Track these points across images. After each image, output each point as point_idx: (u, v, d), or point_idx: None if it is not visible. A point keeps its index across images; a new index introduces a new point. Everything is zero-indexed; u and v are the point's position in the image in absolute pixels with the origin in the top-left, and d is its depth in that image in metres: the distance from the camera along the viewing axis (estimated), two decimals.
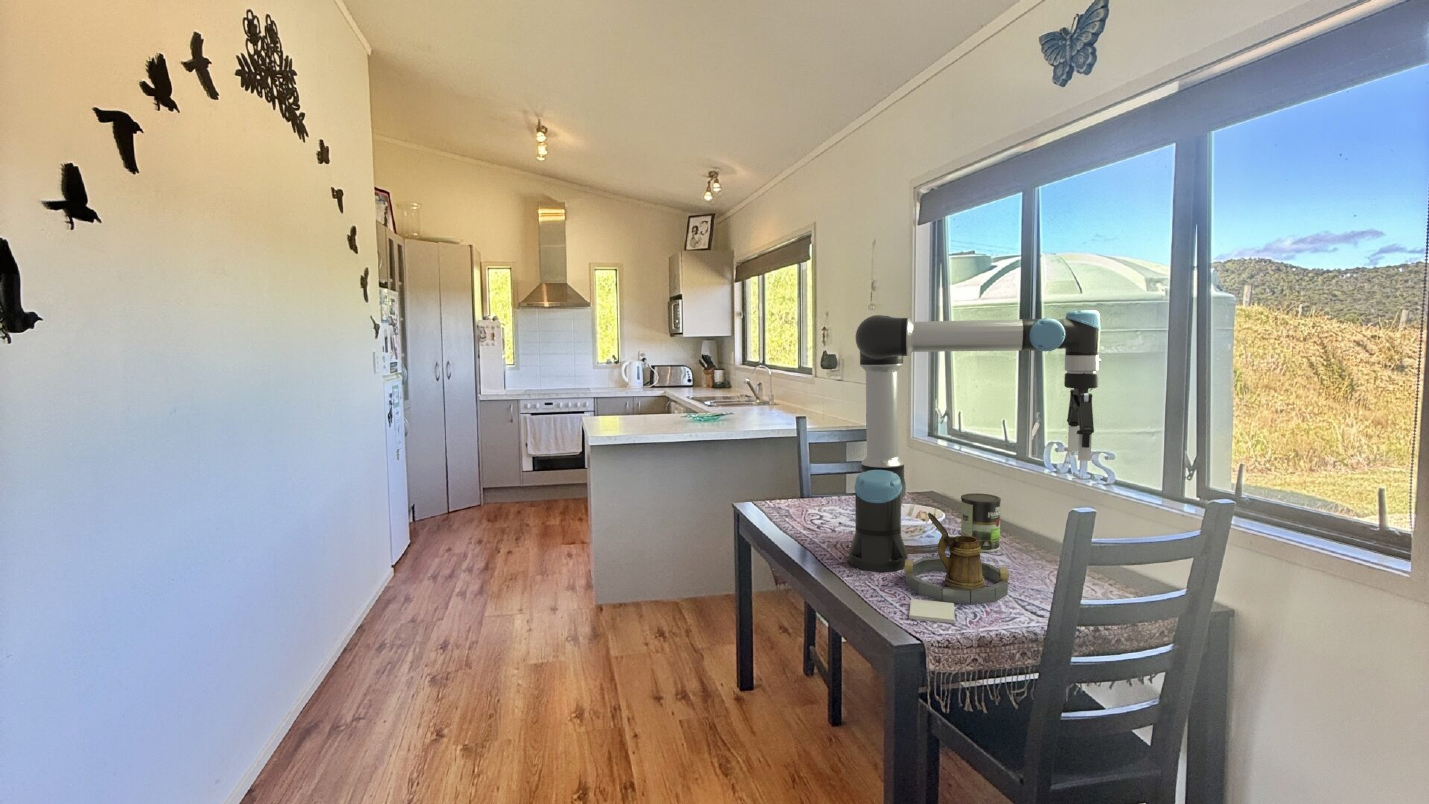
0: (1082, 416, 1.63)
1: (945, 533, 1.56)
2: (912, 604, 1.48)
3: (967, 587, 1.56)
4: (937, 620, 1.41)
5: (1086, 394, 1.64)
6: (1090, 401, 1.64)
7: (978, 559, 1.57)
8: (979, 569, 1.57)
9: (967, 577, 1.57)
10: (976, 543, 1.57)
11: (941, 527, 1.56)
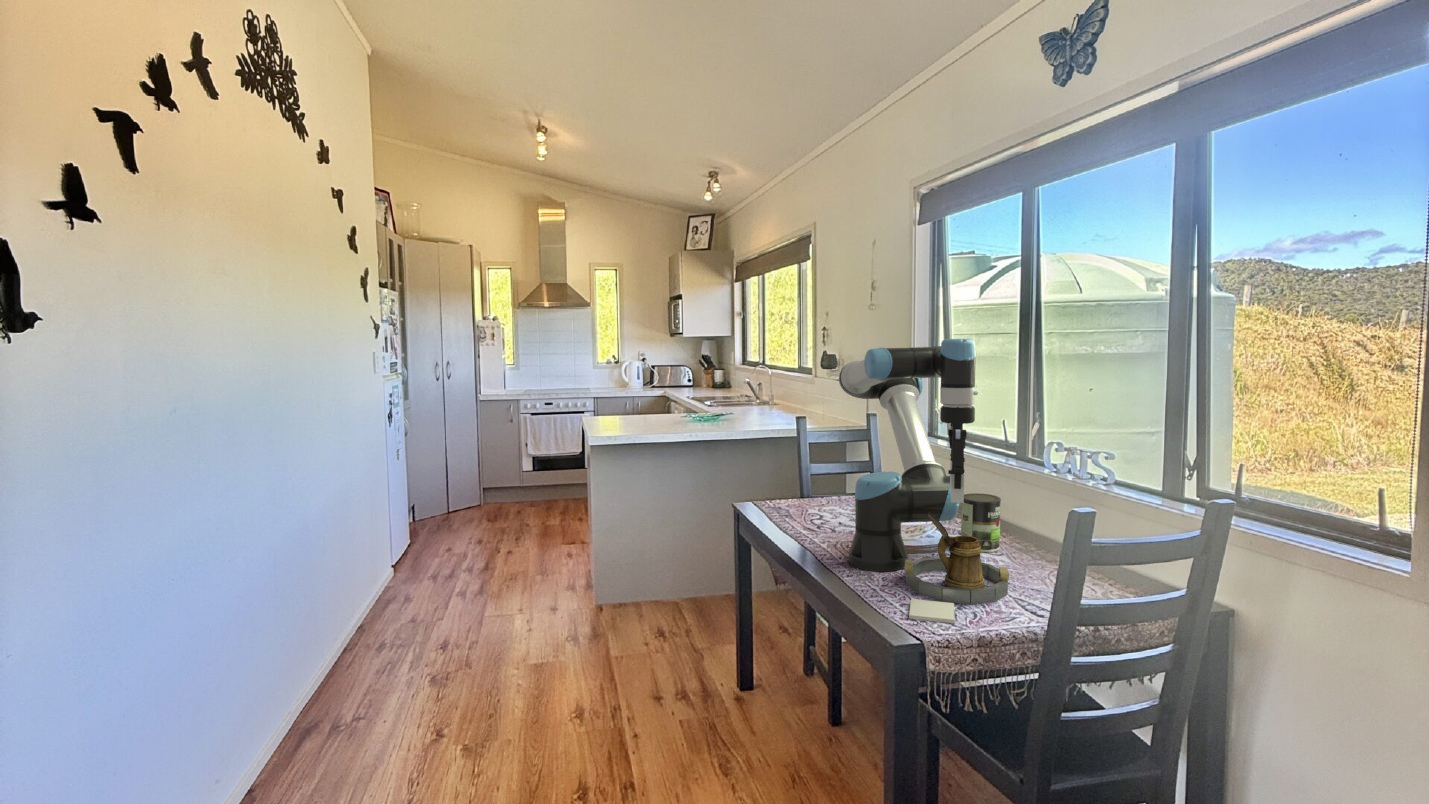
0: (953, 455, 1.50)
1: (945, 533, 1.56)
2: (912, 604, 1.48)
3: (967, 587, 1.56)
4: (937, 620, 1.41)
5: (958, 430, 1.51)
6: (962, 438, 1.50)
7: (978, 559, 1.57)
8: (979, 569, 1.57)
9: (967, 577, 1.57)
10: (976, 543, 1.57)
11: (941, 527, 1.56)
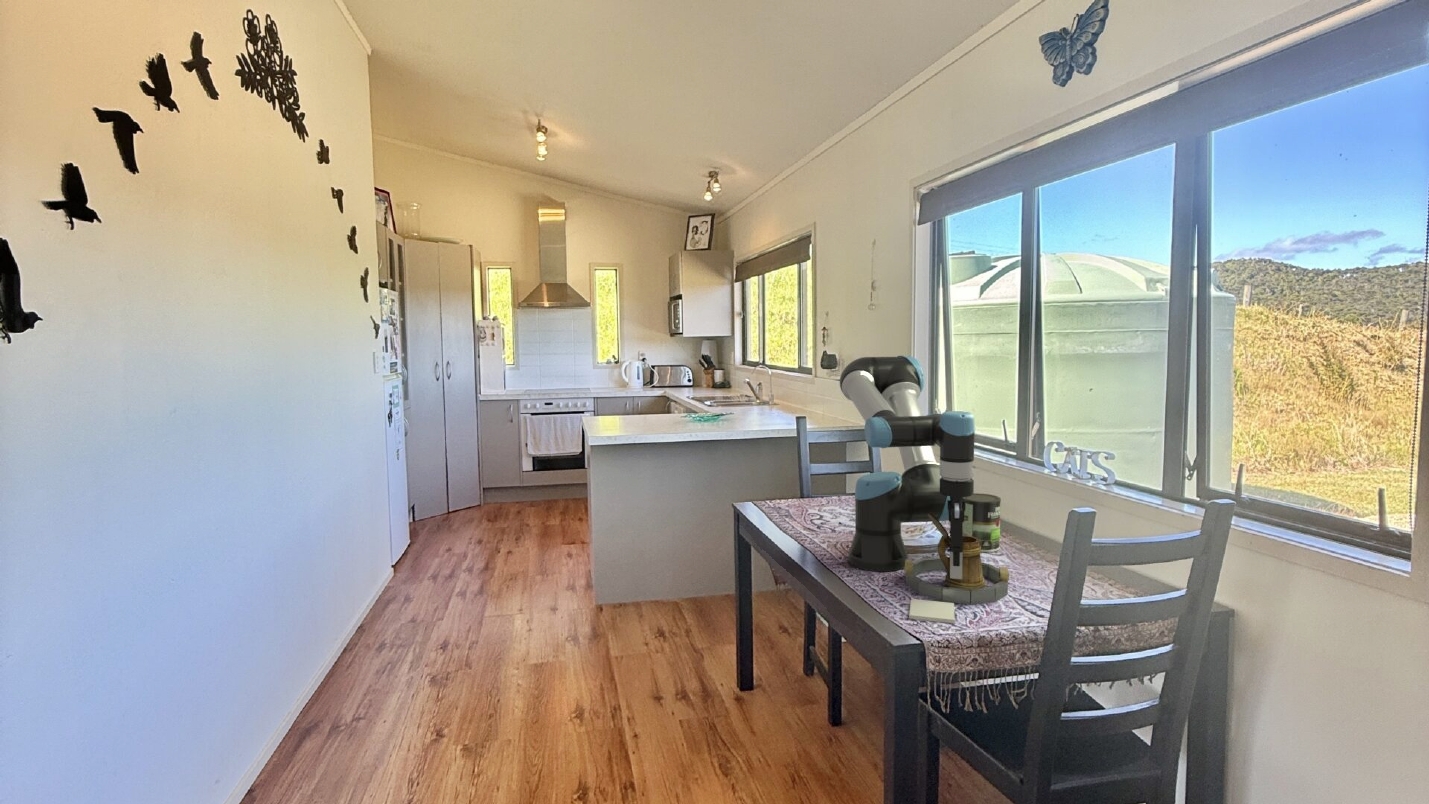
0: (952, 534, 1.53)
1: (945, 533, 1.56)
2: (912, 604, 1.48)
3: (967, 587, 1.56)
4: (937, 620, 1.41)
5: (957, 511, 1.53)
6: (961, 518, 1.53)
7: (978, 559, 1.57)
8: (979, 569, 1.57)
9: (967, 577, 1.56)
10: (976, 543, 1.57)
11: (941, 527, 1.56)
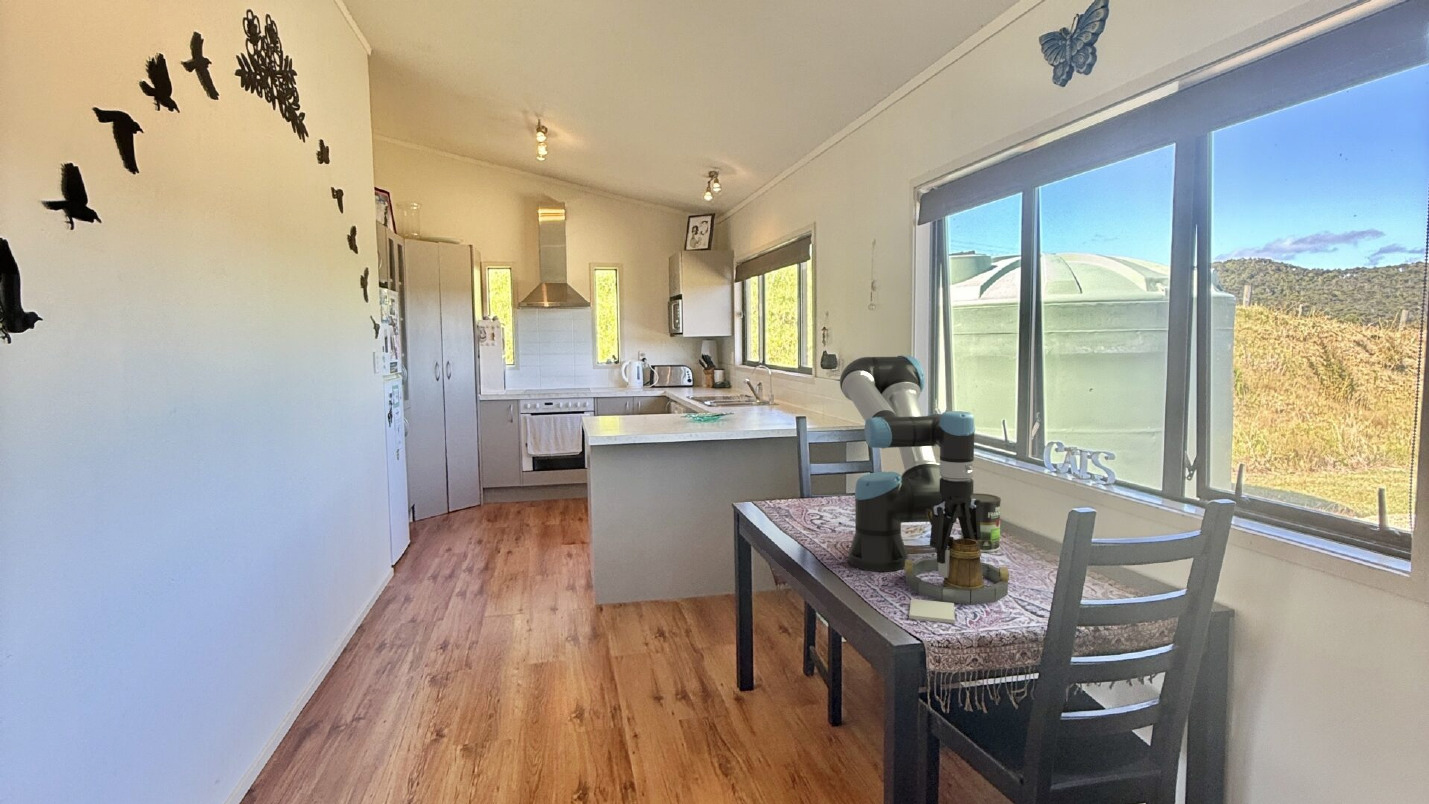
0: (931, 530, 1.57)
1: None
2: (912, 604, 1.48)
3: None
4: (937, 620, 1.41)
5: (935, 508, 1.56)
6: (938, 515, 1.55)
7: (971, 563, 1.54)
8: (971, 574, 1.54)
9: (956, 579, 1.56)
10: (969, 547, 1.54)
11: (931, 524, 1.58)
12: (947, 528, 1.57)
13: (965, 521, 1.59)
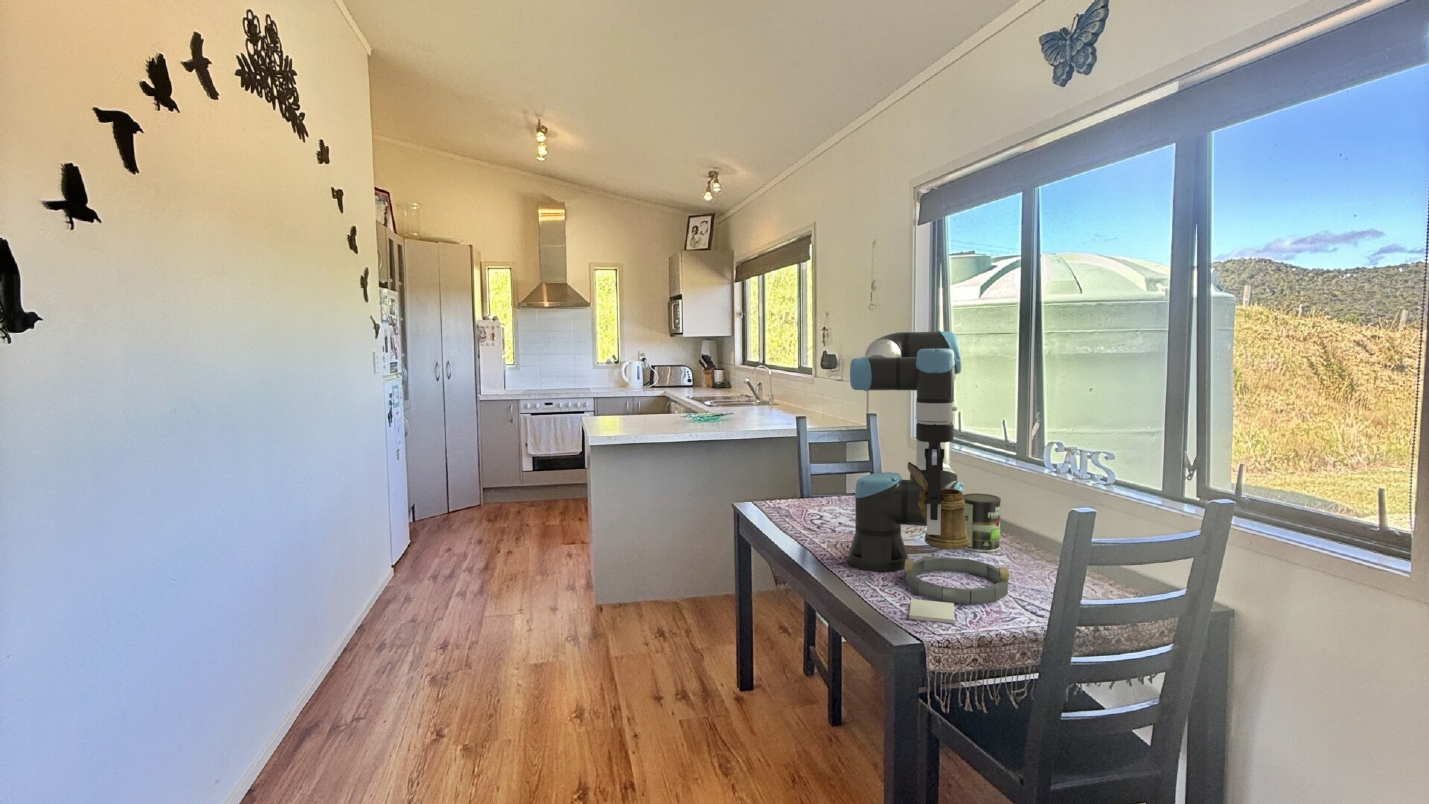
0: (928, 483, 1.37)
1: None
2: (912, 604, 1.48)
3: (952, 544, 1.39)
4: (937, 620, 1.41)
5: (934, 457, 1.36)
6: (938, 465, 1.36)
7: (963, 513, 1.41)
8: (964, 524, 1.41)
9: (952, 533, 1.39)
10: (960, 495, 1.40)
11: (924, 477, 1.38)
12: None
13: None
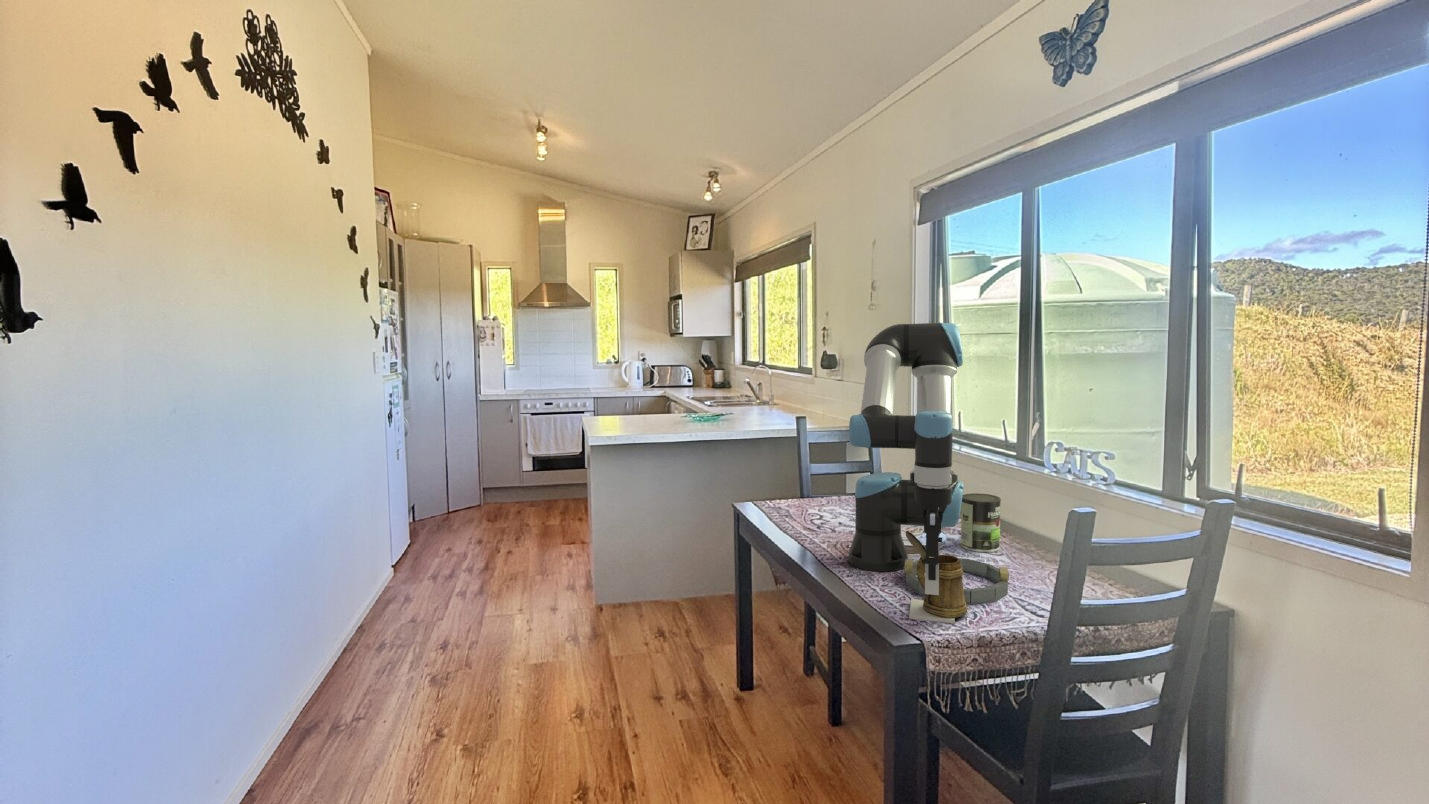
0: (926, 543, 1.36)
1: None
2: (912, 604, 1.48)
3: (950, 613, 1.40)
4: (937, 620, 1.41)
5: (932, 516, 1.37)
6: (937, 525, 1.36)
7: (960, 581, 1.42)
8: (962, 592, 1.42)
9: (950, 602, 1.40)
10: (958, 563, 1.41)
11: (922, 547, 1.39)
12: None
13: None
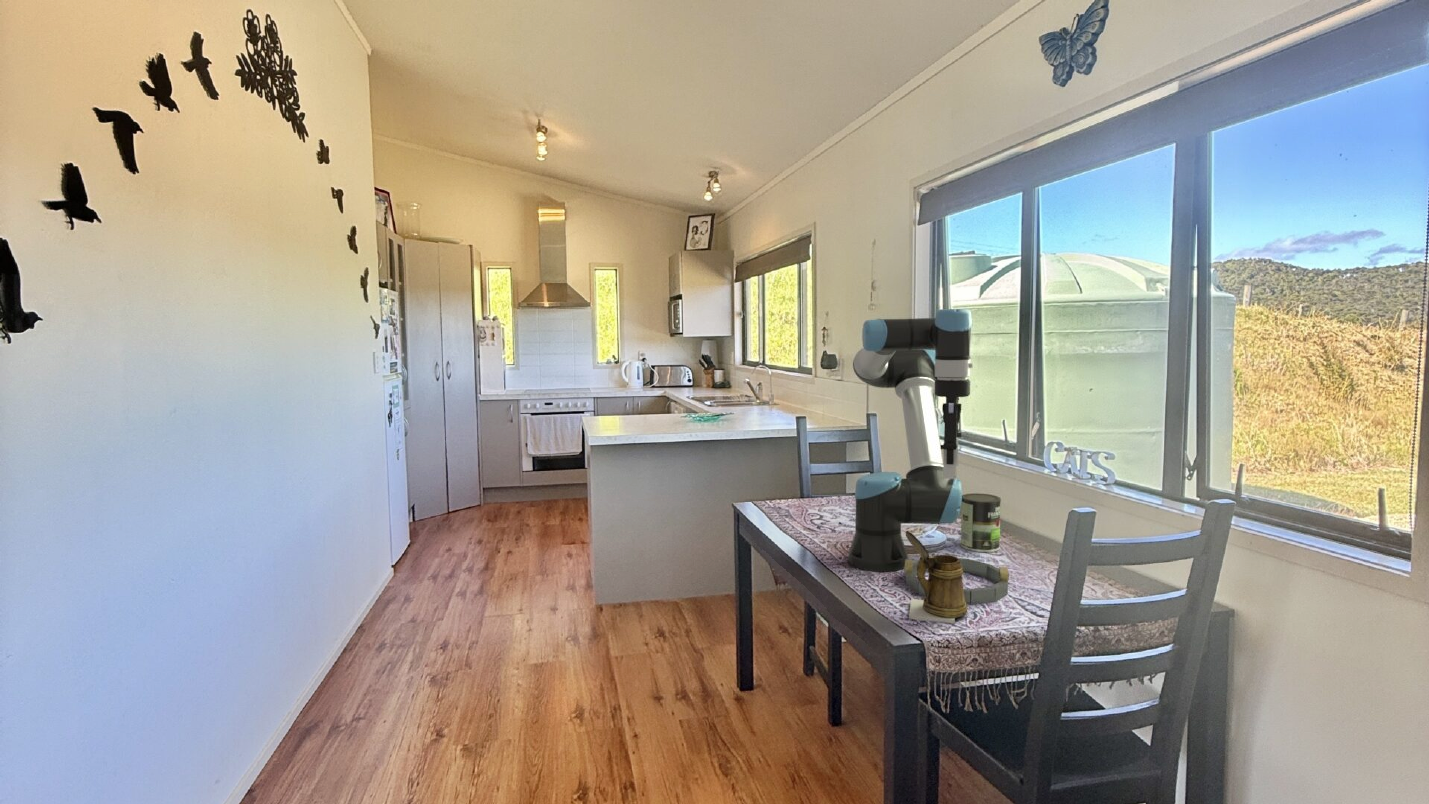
0: (945, 429, 1.45)
1: (926, 554, 1.40)
2: (912, 604, 1.48)
3: (950, 613, 1.40)
4: (937, 620, 1.41)
5: (951, 404, 1.45)
6: (955, 412, 1.45)
7: (960, 581, 1.42)
8: (962, 592, 1.42)
9: (950, 602, 1.40)
10: (958, 563, 1.41)
11: (922, 547, 1.39)
12: None
13: None
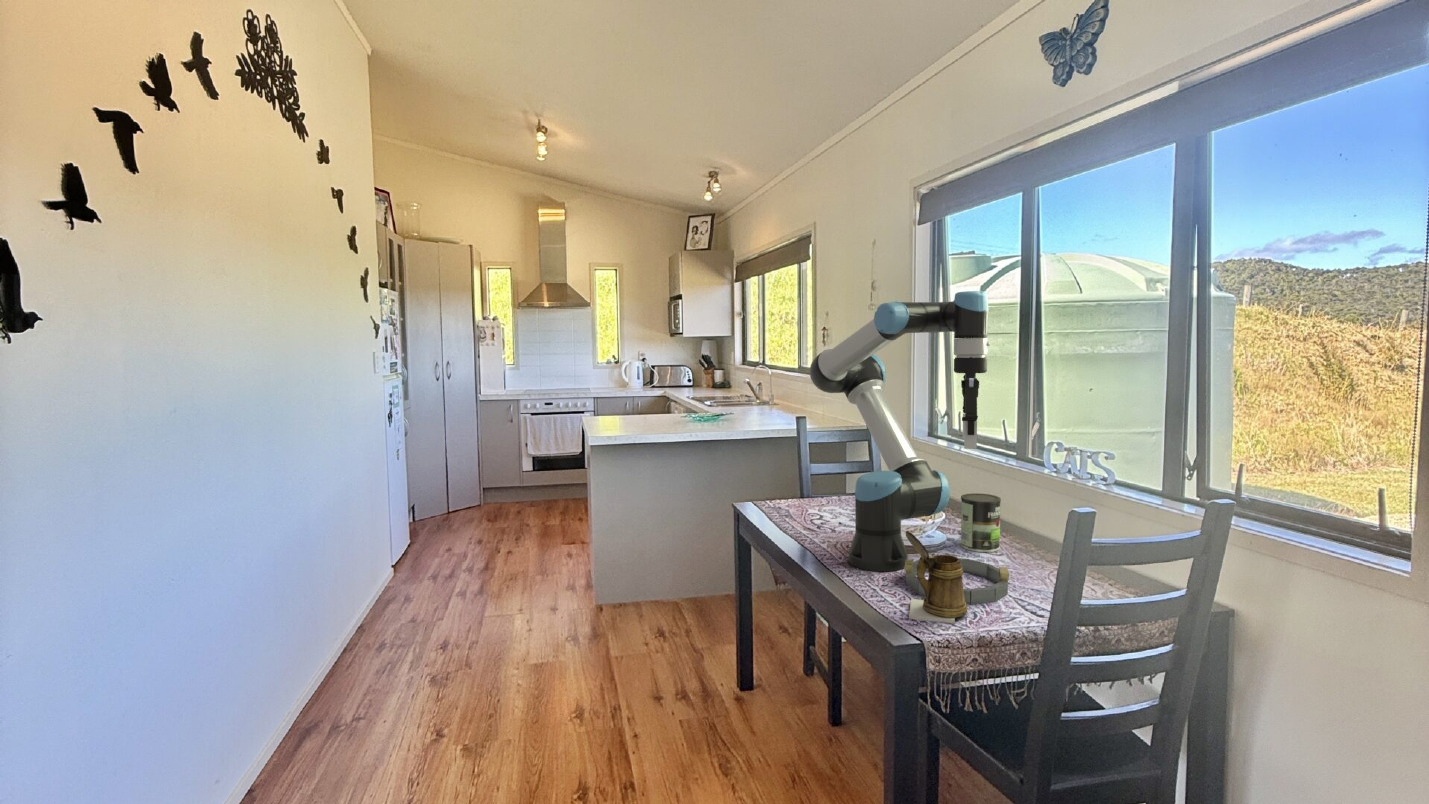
0: (966, 402, 1.55)
1: (926, 554, 1.40)
2: (912, 604, 1.48)
3: (950, 613, 1.40)
4: (937, 620, 1.41)
5: (971, 379, 1.56)
6: (975, 386, 1.56)
7: (960, 581, 1.42)
8: (962, 592, 1.42)
9: (950, 602, 1.40)
10: (958, 563, 1.41)
11: (922, 547, 1.39)
12: None
13: None
